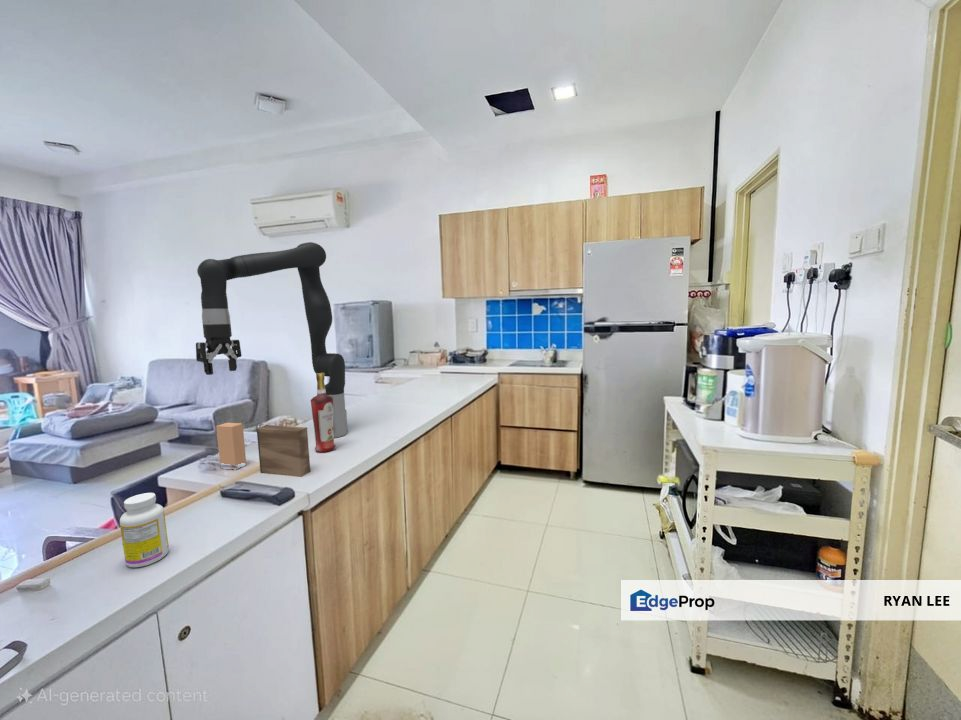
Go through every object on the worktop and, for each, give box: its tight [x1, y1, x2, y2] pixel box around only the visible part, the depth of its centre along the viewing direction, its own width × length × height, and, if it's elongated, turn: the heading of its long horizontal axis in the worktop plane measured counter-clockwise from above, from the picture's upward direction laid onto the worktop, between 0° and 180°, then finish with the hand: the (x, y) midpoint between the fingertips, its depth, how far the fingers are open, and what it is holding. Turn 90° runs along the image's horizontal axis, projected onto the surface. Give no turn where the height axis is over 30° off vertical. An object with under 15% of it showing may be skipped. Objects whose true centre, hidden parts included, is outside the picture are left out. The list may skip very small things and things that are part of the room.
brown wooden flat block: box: [256, 424, 311, 478], centre depth 118 cm, size 4×15×14 cm, turn 76°
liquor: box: [310, 373, 336, 453], centre depth 136 cm, size 7×7×28 cm
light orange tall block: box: [215, 422, 247, 466], centre depth 123 cm, size 4×6×14 cm, turn 76°
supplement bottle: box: [119, 492, 170, 568], centre depth 77 cm, size 7×7×13 cm
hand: (221, 372), depth 126 cm, fingers open, 8 cm apart
